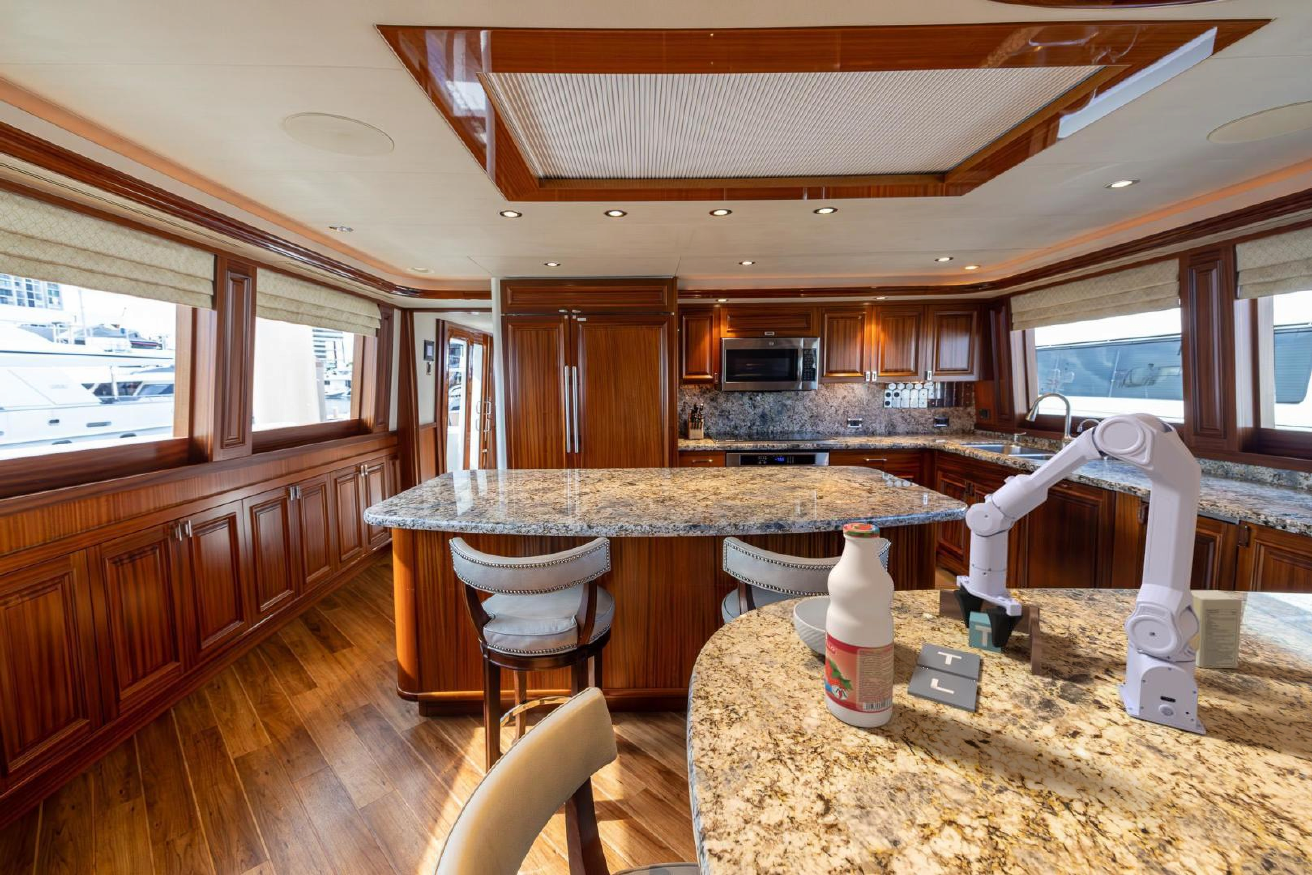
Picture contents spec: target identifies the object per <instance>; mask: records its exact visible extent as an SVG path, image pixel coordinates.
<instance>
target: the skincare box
mask: <svg viewBox="0 0 1312 875" xmlns="http://www.w3.org/2000/svg"><path fill="white" fill-rule="evenodd" d="M1190 591H1191V593H1192V595H1193V608H1194V611H1195V613H1196V615H1197V616H1198V618H1199V621H1200V629H1199V632H1198V633H1197V635H1195V636H1194V637H1192V638H1191V639H1190V640H1189V643H1191V645H1192V647H1193V648H1194V651H1195V652H1196V665H1195V667H1197V668H1200V667H1201V669H1202V668H1203V669H1205V668H1206V669H1208V668H1209V669H1210V668H1211V669H1238V668H1239V655H1240V654H1239V651H1240V637H1241V636H1240V635H1241V634H1240V632H1241V621H1242V620H1241V619H1242V618H1241V617H1242V616H1241V614H1242V599H1241V598H1239V597H1236V596H1233V595H1232V594H1228V593H1226V592H1223V591H1220V590H1217V589H1213V590H1212V589H1210V590H1209V589H1194V590H1193V589H1192V590H1191V589H1190Z"/></svg>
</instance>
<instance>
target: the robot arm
mask: <svg viewBox="0 0 1312 875" xmlns="http://www.w3.org/2000/svg"><path fill="white" fill-rule="evenodd" d="M1107 457H1113V458H1116V459H1118V460H1121V461H1122V462H1126V463H1128V464H1131V465H1132V466H1133V467H1134V468H1136V469H1138V471H1140V472H1141V473H1142V474H1144V475H1145V476H1146V477H1147V478H1148V479H1150V480H1151V487H1150V494H1149V495H1150V496H1149V507H1148V516H1147V518H1148V520H1147V526H1146V528H1147V529H1146V538H1145V539H1146V540H1145V551H1144V552H1145V553H1144V561H1143V570H1142V571H1143V573H1142V583H1141V586H1140V589H1139V591H1138V594H1137V596H1136V599H1135V606H1134V610H1133V611H1132V613H1131V614H1130V615H1129V616H1127V618H1126V619H1125V623H1124V631H1125V634H1126V637H1127V650H1126V651H1127V652H1126V669H1125V680H1124V681H1125V683H1121V682H1120V683H1117V689H1118V693H1119V694H1120V698H1121V700H1122V702H1123V705H1124V708H1125V710H1126V713H1127V715H1128V716H1130V717H1133V718H1137V719H1140V720H1145V721H1150V722H1152V723H1157V724H1161V725H1164V726H1170V727H1173V728H1177V729H1180V730H1185V731H1188V732H1192V733H1196V734H1200V735H1206V734H1207V731H1206V729H1205V727H1204V725H1203V723H1202V721H1201V720H1200V718H1199V716H1198V705H1199V695H1200V694H1199V686H1198V683H1197V682H1196V680H1195V679H1196V678H1195V677H1196V652H1195V651H1194V648H1193V647H1192V645H1191V643H1189V640H1190V639H1191V638H1192V637H1194V636H1195V635H1197V633H1198V632H1199V629H1200V621H1199V618H1198V616H1197V615H1196V613H1195V611H1194V608H1193V595H1192V593H1191V591H1190V590H1191V578H1192V570H1193V569H1192V568H1193V558H1194V549H1195V548H1194V547H1195V539H1196V530H1197V529H1196V528H1197V520H1198V508H1199V500H1200V499H1199V498H1200V492H1201V491H1200V490H1201V489H1200V488H1201V480H1202V467H1201V465H1200V463H1199V462H1198V460H1197V459H1196V458H1195V457H1194V455H1193V454H1192V452H1191V451H1190V450H1189V448H1188V447H1187V446H1186V445H1185V443H1184V442H1183V440H1182V439H1181V438H1180V436H1179V434H1178V432H1177V430H1176V428H1175V427H1174V426H1172V425H1171V424H1169V423H1168V422H1166V421H1164V420H1163V419H1162V418H1160V417H1158V416H1156V415H1154V414H1151V413H1145V412H1135V413H1132V414H1131V413H1130V414H1114V415H1111V416H1108V417H1106V418H1105V419H1103V420H1101V422H1099V423H1098V425H1096V426H1092V427H1091V428H1088V429H1087V430H1085V431H1084V432H1082V433H1081V434H1080V435H1078V436H1077V437H1075V438H1074V439H1073V440H1072V441H1070V443H1068V444H1067V445H1066V446H1064V448H1062V449H1061V450H1060V451H1058V452H1057V453H1056V454H1054V455H1053V456H1052V457H1051V458H1050V459H1048V461H1046V462H1045V463H1044V464H1043V465H1042V466H1040V467H1038V469H1036V470H1035V471H1034V472H1032V474H1021V473H1020V474H1017V475H1016V476H1014V475H1011V476H1010V475H1009V476H1008V477H1007V478H1005V479H1004V482H1005V484H1004V485H1003V486H1001V487H1000V488H998V489H997V490H996V491H995V492H993V493H988V494H986V495H985V496H984V499H985V500H984V501H985V502H979V503H974V504H971V506H970V508H968V510H967V512H966V514H965V522H966V526H967V527H968V528H969V530H971V531H970V549H969V550H970V551H969V573H968V574H969V575H968V576H967V575H957V576H956V586H957V587H959V589H953V590H952V591H953V593H954V595H955V597H956V599H957V601H958V603H959V605H960V608H961V611H962V615H963V619H964V621H963V622H964V626H965V628H966V629H968V630H969V620H970V613H971V611H974V612H981V607H982V604H983V601H984V599H985V600H987V601H989V602H991V603H993V604H994V605H996V606H997V609H996V608H992V609H986V612H987V615H988V617H989V620H990V624H991V634H992V644H993V646H994V647H995V648H1001V649H1002V648H1007V646H1008V644H1009V640H1010V637H1011V636H1012V633H1013V632H1014V631H1013V629H1014V628H1015V626H1016V625H1017V624H1018V622H1019V621H1020V620H1021V619H1022V618H1023V613H1022V612H1021V607H1022V605H1021V604H1019V603H1020V602H1018V601H1016V600H1015V599H1014V598H1013V597H1012V595H1010V594H1011V590H1010V589H1009V588H1007V586H1006V585H1007V565H1008V564H1007V561H1008V533H1009V530H1011V528H1013V527H1014V525H1015V522H1017V521H1018V520H1020V519H1021V518H1023V517H1024V516H1025V515H1027V514H1029V512H1031V511H1033V510H1034V509H1035V508H1037V507H1038V506H1040V505H1041V504H1043V503H1044V502H1046V501H1047V499H1048V490H1049V488H1051V487H1052V486H1054V485H1055V484H1056V483H1058V482H1060V481H1061V480H1063V479H1065V478H1066V477H1068V476H1069V475H1070V474H1072V473H1074V471H1076V470H1078V469H1080V468H1081V467H1082V466H1084V465H1087V464H1088V463H1089V462H1091V461H1092V460H1097V459H1102V458H1107Z"/></svg>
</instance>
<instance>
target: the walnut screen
mask: <svg viewBox="0 0 1312 875" xmlns="http://www.w3.org/2000/svg"><path fill="white" fill-rule="evenodd" d="M953 591H954V590H949V589H948V590H947V589H942V588H940V589H939V604H938V605H939V606H938V607H939V609H938V611H939V612H938V617H942V616H946V617H945V618H947V617H951V618H950V619H952V618H955V619H954V620H957V619H958V620H957V621H962V620H964V619H963V615H962V611H961V608H960V605H959V603H958V601H957V599H956V597H955V595H954V593H953ZM1018 603H1019V604H1021V605H1022V607H1021V612H1022V613H1023V618H1022V619H1021V620H1020V621H1019V622H1018V624H1017V625H1016V626H1015V628H1014V629H1013V631H1012V632H1016V631H1017V632H1016V633H1021V634H1026V633H1027V634H1029V635H1028V644H1029V645H1028V646H1030V647H1029V656H1030V668H1031V671H1030V672H1031V675H1034V676H1038V677H1041V676H1042V658H1043V657H1042V656H1043V640H1042V633H1041V624H1040V615H1041V614H1040V613H1041V607H1040V606H1039V605H1035V604H1034V605H1033V604H1028V603H1022V602H1018ZM992 608H996V609H997V606H996V605H994V604H993V603H991V602H989V601H987V600H985V599H984V601H983V604H982V607H981V612H980V613H985V614H987V612H986V609H992ZM959 619H960V620H959ZM1027 634H1026V635H1027Z"/></svg>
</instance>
